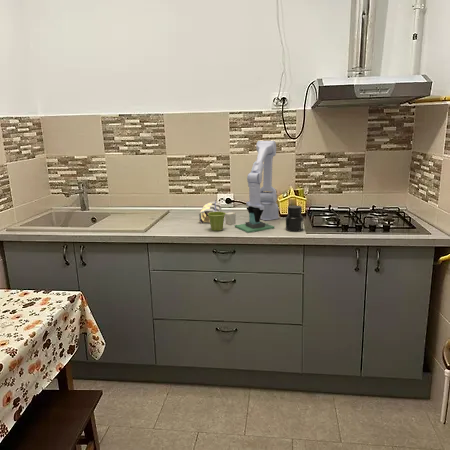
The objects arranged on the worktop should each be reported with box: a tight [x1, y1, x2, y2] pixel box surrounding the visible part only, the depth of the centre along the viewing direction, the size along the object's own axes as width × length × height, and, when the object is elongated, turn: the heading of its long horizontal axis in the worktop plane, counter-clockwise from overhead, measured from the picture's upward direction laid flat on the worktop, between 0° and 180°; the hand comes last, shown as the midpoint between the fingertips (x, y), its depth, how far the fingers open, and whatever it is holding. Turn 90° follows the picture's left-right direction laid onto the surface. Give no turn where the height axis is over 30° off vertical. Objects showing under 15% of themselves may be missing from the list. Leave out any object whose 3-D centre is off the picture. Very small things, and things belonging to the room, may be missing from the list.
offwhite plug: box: [224, 211, 237, 226], centre depth 235 cm, size 4×4×6 cm
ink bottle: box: [285, 205, 304, 232], centre depth 218 cm, size 10×9×12 cm
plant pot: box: [207, 211, 227, 232], centre depth 224 cm, size 9×9×9 cm
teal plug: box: [248, 212, 260, 224], centre depth 224 cm, size 4×4×6 cm
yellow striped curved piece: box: [198, 199, 223, 225], centre depth 248 cm, size 25×10×13 cm, turn 176°
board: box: [234, 220, 275, 234], centre depth 226 cm, size 16×14×3 cm
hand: (255, 221), depth 224 cm, fingers closed on teal plug, 4 cm apart
